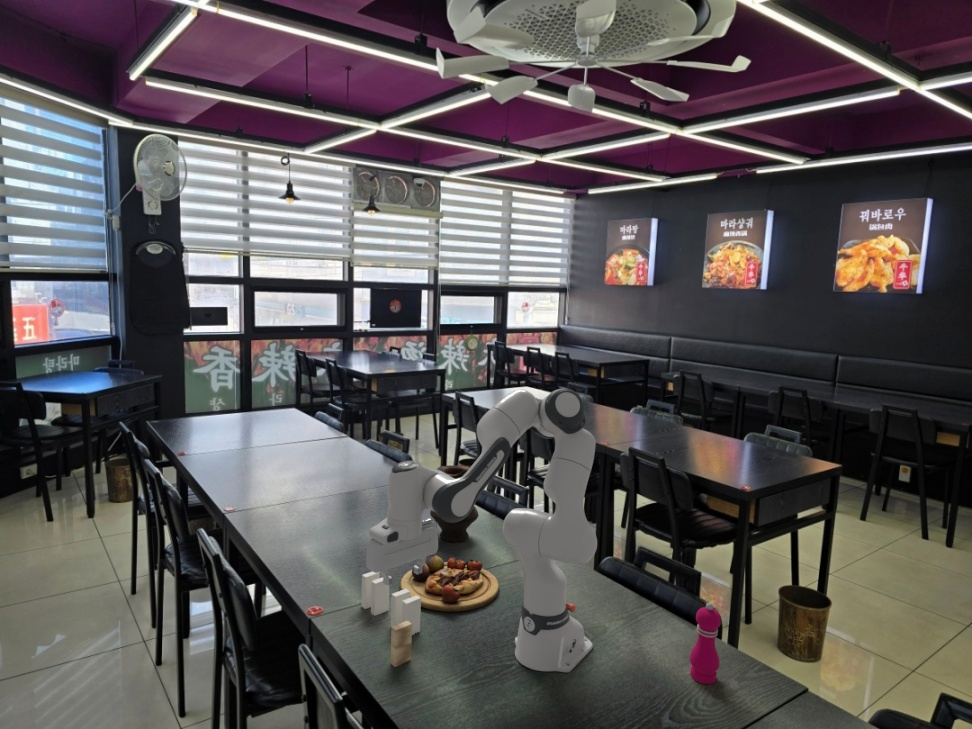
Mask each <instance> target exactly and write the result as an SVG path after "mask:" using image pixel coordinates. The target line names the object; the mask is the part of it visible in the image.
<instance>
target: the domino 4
mask: <svg viewBox="0 0 972 729" xmlns="http://www.w3.org/2000/svg"><path fill="white" fill-rule="evenodd" d="M390 628H391V629H390V631H391V632H390V633H391V634H390V636H391V638H390V665H392V666H393V667H394V668H396V667H399V666H401V665H403V664H405V663H407V662H409V661H412V638H413V637H412V636H413V635H412V623H410V622H409V621H405V622H402V623H400V624H398V625H395V626H393V627H391V626H390Z"/></svg>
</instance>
